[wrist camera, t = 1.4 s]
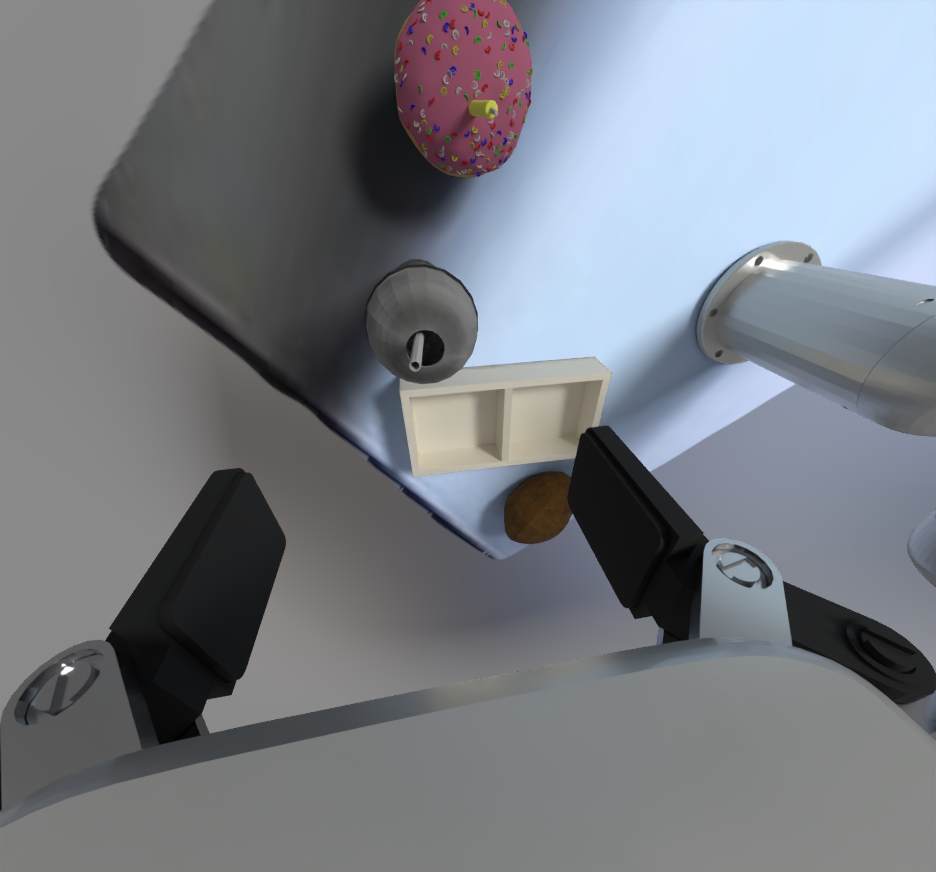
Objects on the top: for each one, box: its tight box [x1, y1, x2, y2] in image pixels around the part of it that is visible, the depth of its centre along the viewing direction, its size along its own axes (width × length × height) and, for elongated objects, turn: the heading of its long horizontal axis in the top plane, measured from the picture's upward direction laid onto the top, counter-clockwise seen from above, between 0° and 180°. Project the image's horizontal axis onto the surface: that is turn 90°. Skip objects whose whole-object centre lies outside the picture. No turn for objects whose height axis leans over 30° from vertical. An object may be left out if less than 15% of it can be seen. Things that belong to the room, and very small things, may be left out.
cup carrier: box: [400, 357, 612, 477], centre depth 39 cm, size 22×11×4 cm, turn 91°
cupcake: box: [394, 0, 533, 178], centre depth 20 cm, size 9×8×12 cm
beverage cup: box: [364, 259, 478, 384], centre depth 23 cm, size 7×7×20 cm
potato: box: [504, 472, 572, 544], centre depth 46 cm, size 8×12×8 cm, turn 149°
